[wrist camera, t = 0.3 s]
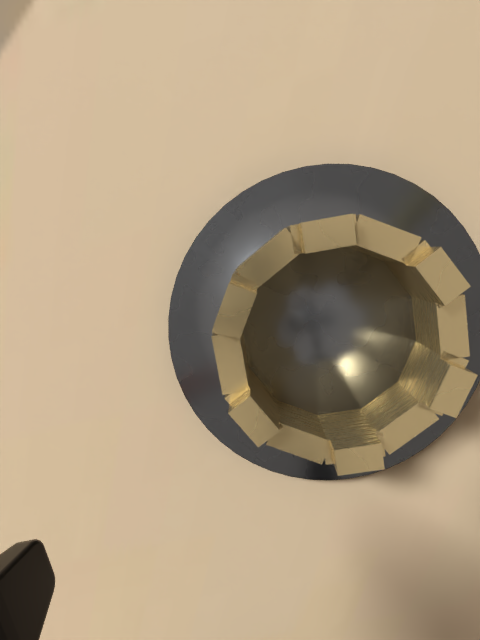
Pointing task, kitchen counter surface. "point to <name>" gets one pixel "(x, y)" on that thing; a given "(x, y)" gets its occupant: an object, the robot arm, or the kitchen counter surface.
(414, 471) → the kitchen counter surface
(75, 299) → the kitchen counter surface
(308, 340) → the crown on disc
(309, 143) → the kitchen counter surface
